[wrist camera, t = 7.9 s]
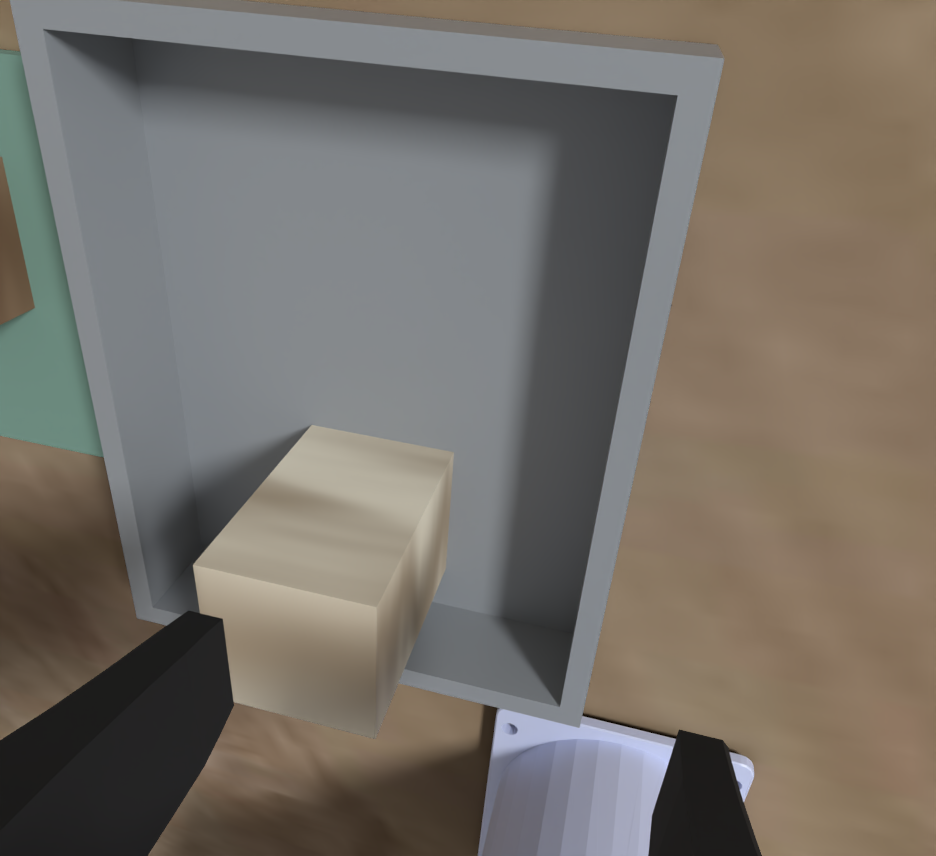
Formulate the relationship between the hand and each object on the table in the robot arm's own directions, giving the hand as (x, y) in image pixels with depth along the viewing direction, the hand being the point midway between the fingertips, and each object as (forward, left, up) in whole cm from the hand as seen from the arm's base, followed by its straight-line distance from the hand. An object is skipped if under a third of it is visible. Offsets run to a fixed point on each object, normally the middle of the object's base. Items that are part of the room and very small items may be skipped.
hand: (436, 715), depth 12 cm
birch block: (-3, +4, -9) cm, 10 cm away
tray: (+1, +4, -9) cm, 10 cm away
